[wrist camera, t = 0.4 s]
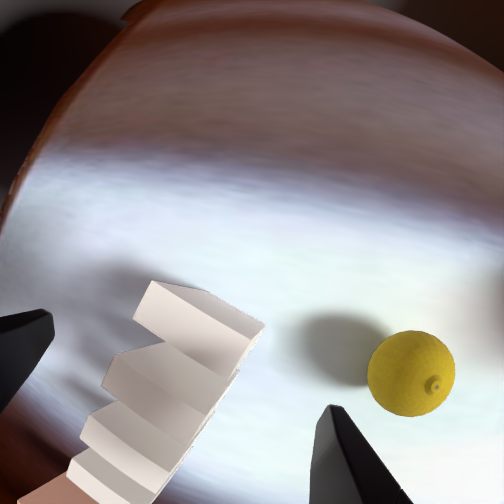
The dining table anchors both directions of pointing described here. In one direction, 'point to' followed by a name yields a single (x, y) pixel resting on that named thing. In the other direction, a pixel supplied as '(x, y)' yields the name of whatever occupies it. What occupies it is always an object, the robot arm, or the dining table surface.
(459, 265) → the dining table surface
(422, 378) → the lemon
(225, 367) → the tile end
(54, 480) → the tile
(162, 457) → the tile
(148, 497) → the tile
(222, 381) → the tile
